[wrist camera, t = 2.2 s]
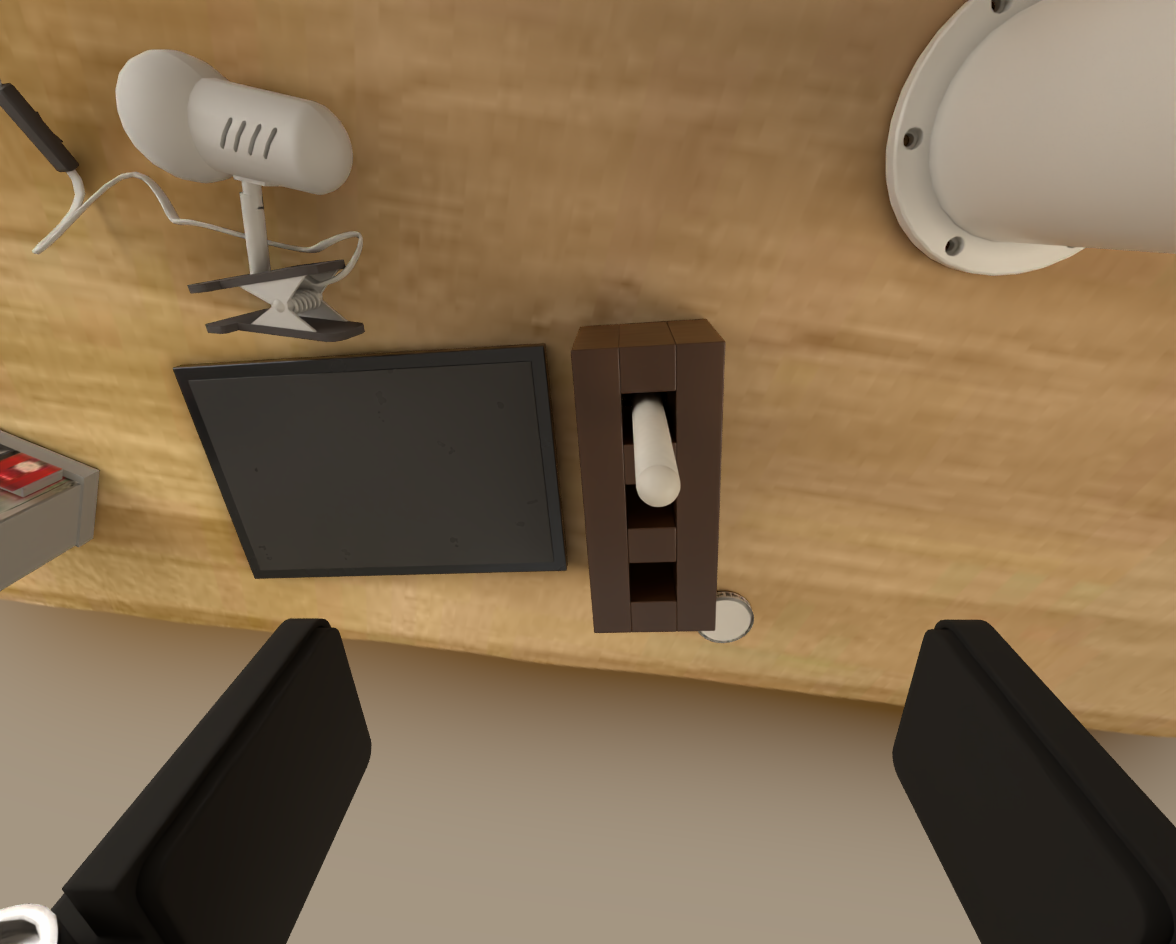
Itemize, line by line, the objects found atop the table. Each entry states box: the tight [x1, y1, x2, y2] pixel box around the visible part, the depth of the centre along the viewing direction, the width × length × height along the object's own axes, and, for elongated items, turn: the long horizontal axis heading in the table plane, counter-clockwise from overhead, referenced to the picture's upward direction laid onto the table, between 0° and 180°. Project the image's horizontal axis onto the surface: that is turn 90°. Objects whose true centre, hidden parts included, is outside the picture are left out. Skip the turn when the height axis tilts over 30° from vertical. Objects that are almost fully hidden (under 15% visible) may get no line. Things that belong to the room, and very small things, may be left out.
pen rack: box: [571, 319, 725, 633], centre depth 31 cm, size 7×17×6 cm, turn 4°
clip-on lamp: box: [0, 50, 365, 342], centre depth 26 cm, size 12×6×18 cm
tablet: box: [173, 343, 568, 579], centre depth 35 cm, size 22×15×1 cm
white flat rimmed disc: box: [698, 592, 754, 643], centre depth 38 cm, size 4×4×1 cm
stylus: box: [631, 392, 680, 507], centre depth 26 cm, size 2×2×14 cm
